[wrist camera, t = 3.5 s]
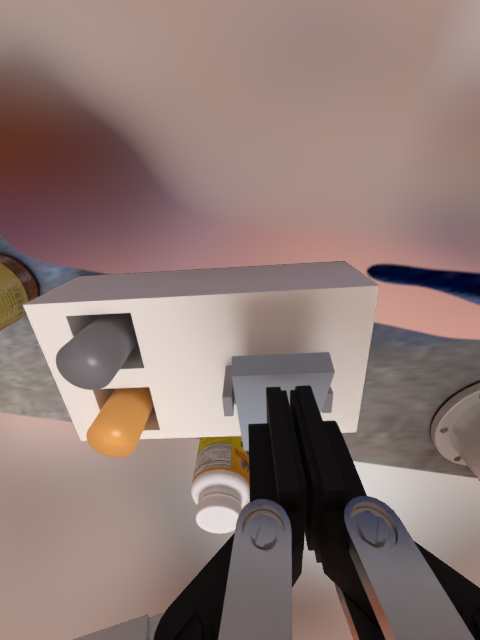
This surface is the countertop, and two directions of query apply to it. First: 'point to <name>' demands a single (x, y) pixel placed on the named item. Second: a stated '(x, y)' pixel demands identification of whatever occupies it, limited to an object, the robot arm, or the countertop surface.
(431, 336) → the countertop surface
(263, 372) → the rocker
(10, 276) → the sauce bottle
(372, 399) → the countertop surface
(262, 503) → the robot arm
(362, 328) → the panel
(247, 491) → the supplement bottle
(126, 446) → the button orange
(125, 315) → the button charcoal
